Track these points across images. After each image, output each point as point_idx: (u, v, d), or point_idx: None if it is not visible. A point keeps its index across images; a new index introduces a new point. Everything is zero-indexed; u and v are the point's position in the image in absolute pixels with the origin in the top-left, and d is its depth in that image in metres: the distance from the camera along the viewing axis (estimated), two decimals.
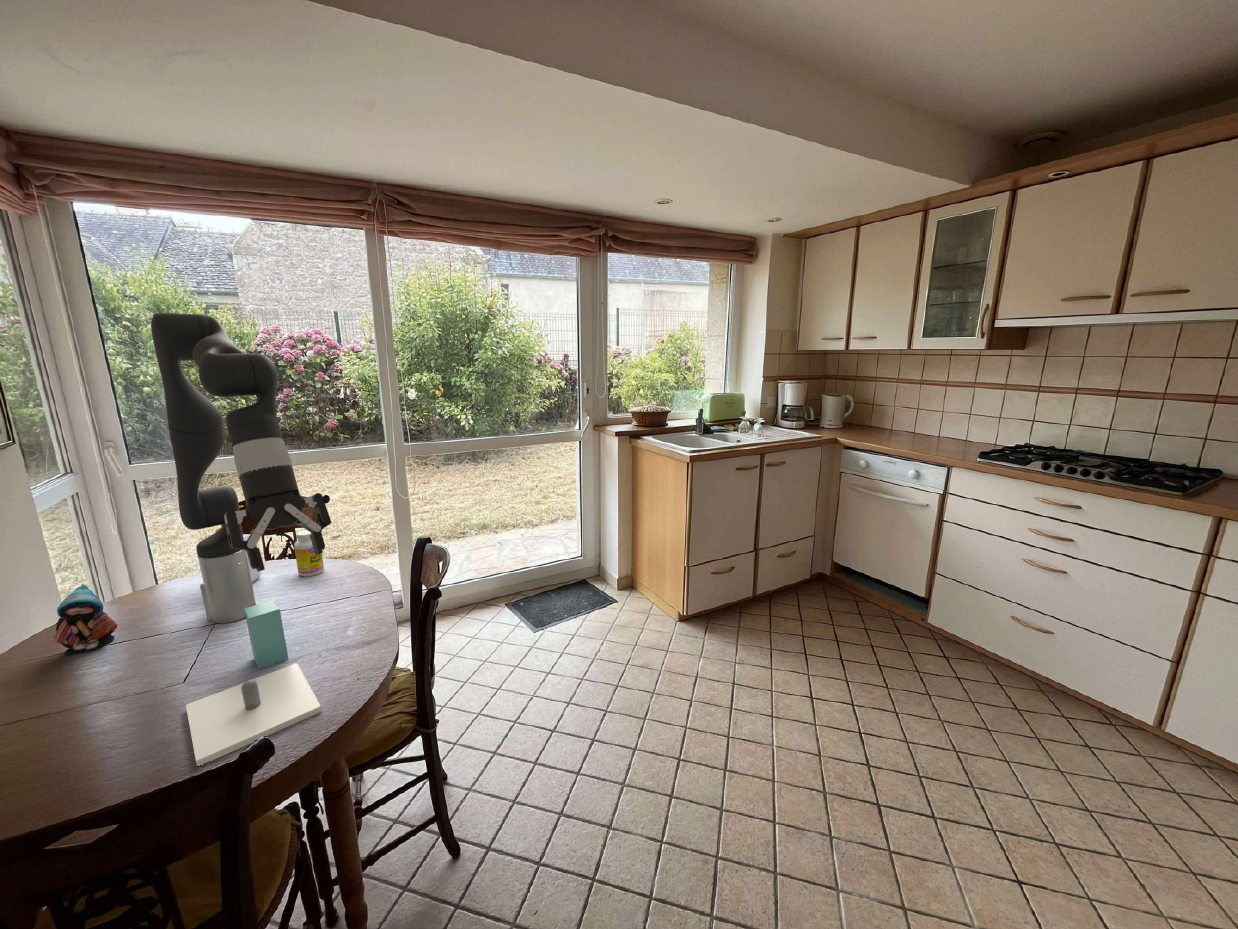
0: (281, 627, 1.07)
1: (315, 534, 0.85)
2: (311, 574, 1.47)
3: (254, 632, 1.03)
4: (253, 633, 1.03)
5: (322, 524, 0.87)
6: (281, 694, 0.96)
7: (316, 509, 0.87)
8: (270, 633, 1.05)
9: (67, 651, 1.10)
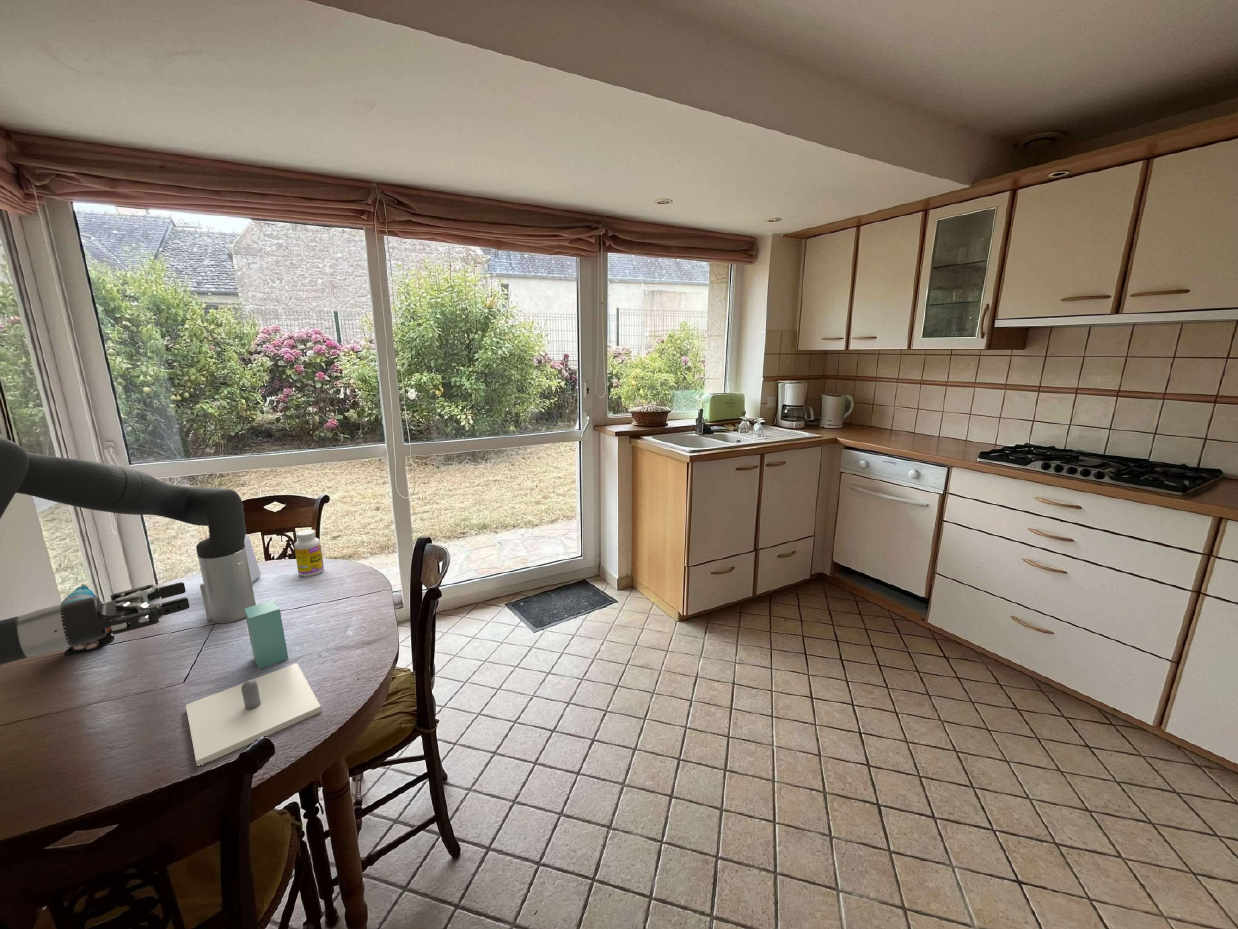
0: (281, 627, 1.07)
1: None
2: (311, 574, 1.47)
3: (254, 632, 1.03)
4: (253, 633, 1.03)
5: None
6: (281, 694, 0.96)
7: None
8: (270, 633, 1.05)
9: (67, 651, 1.10)
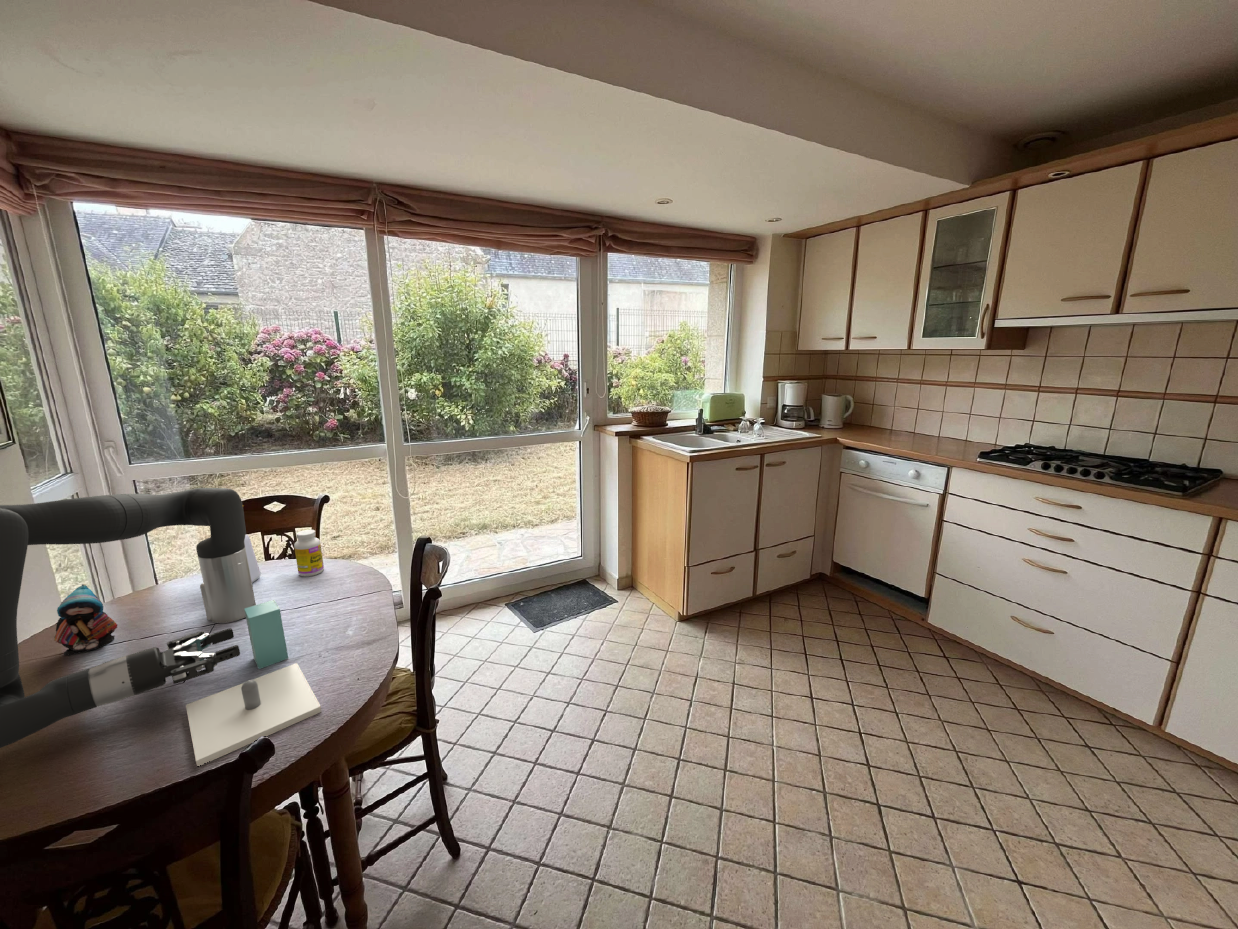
0: (281, 627, 1.07)
1: None
2: (311, 574, 1.47)
3: (254, 632, 1.03)
4: (253, 633, 1.03)
5: None
6: (281, 694, 0.96)
7: None
8: (270, 633, 1.05)
9: (67, 651, 1.10)
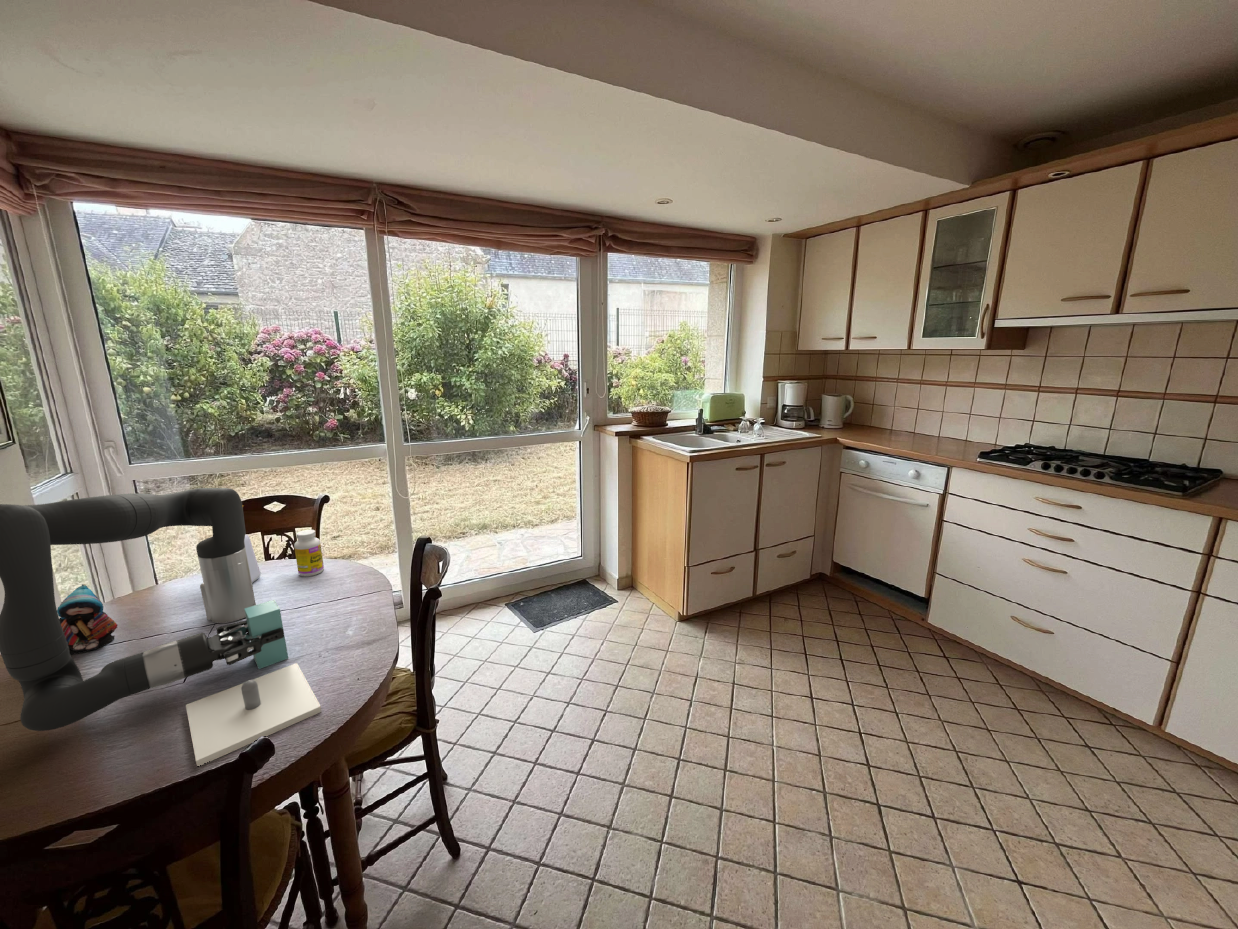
0: (281, 627, 1.07)
1: None
2: (311, 574, 1.47)
3: (254, 632, 1.03)
4: (253, 633, 1.03)
5: None
6: (281, 694, 0.96)
7: None
8: None
9: None
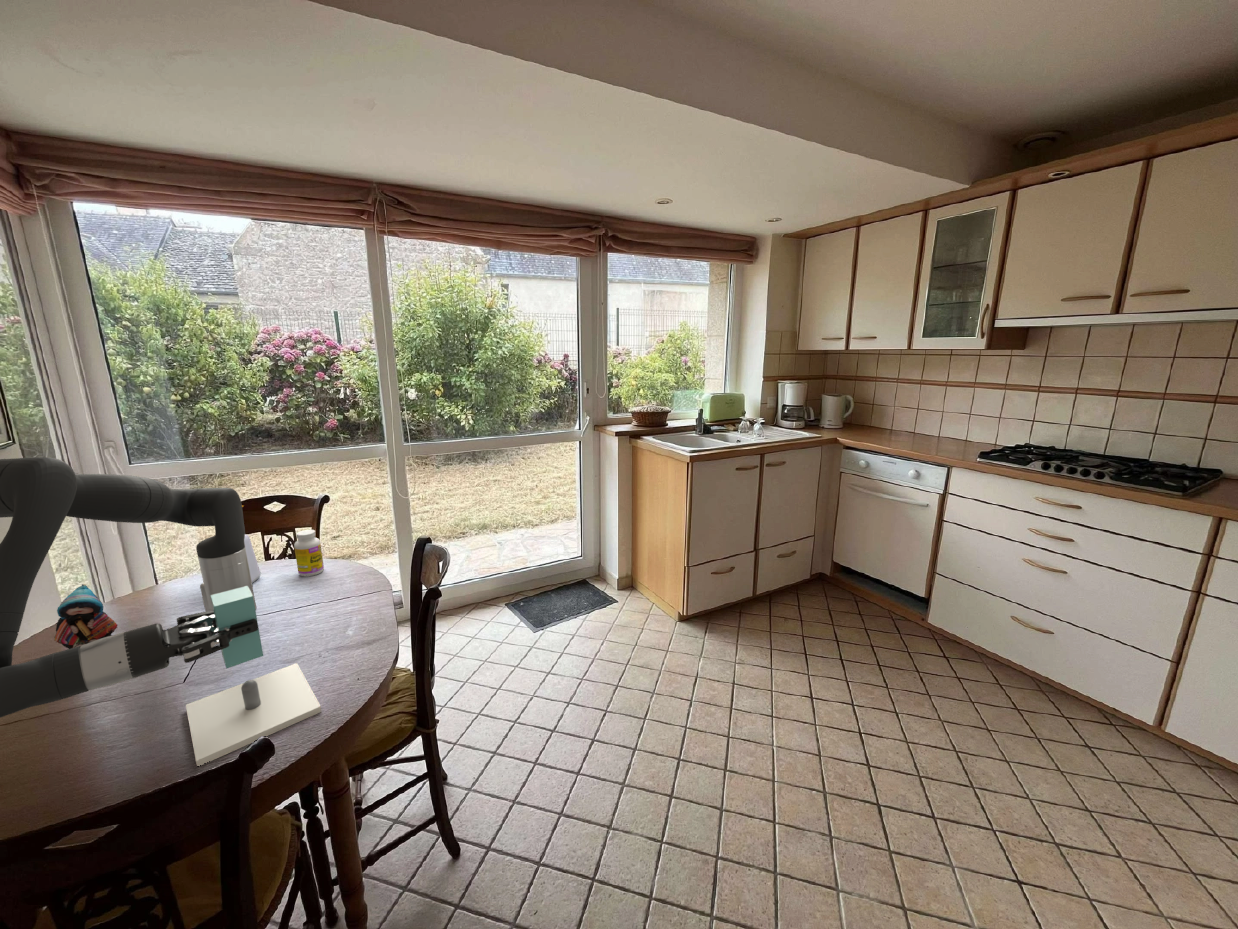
0: (255, 618, 0.89)
1: None
2: (311, 574, 1.47)
3: (221, 623, 0.85)
4: (220, 625, 0.85)
5: None
6: (281, 694, 0.96)
7: None
8: None
9: None
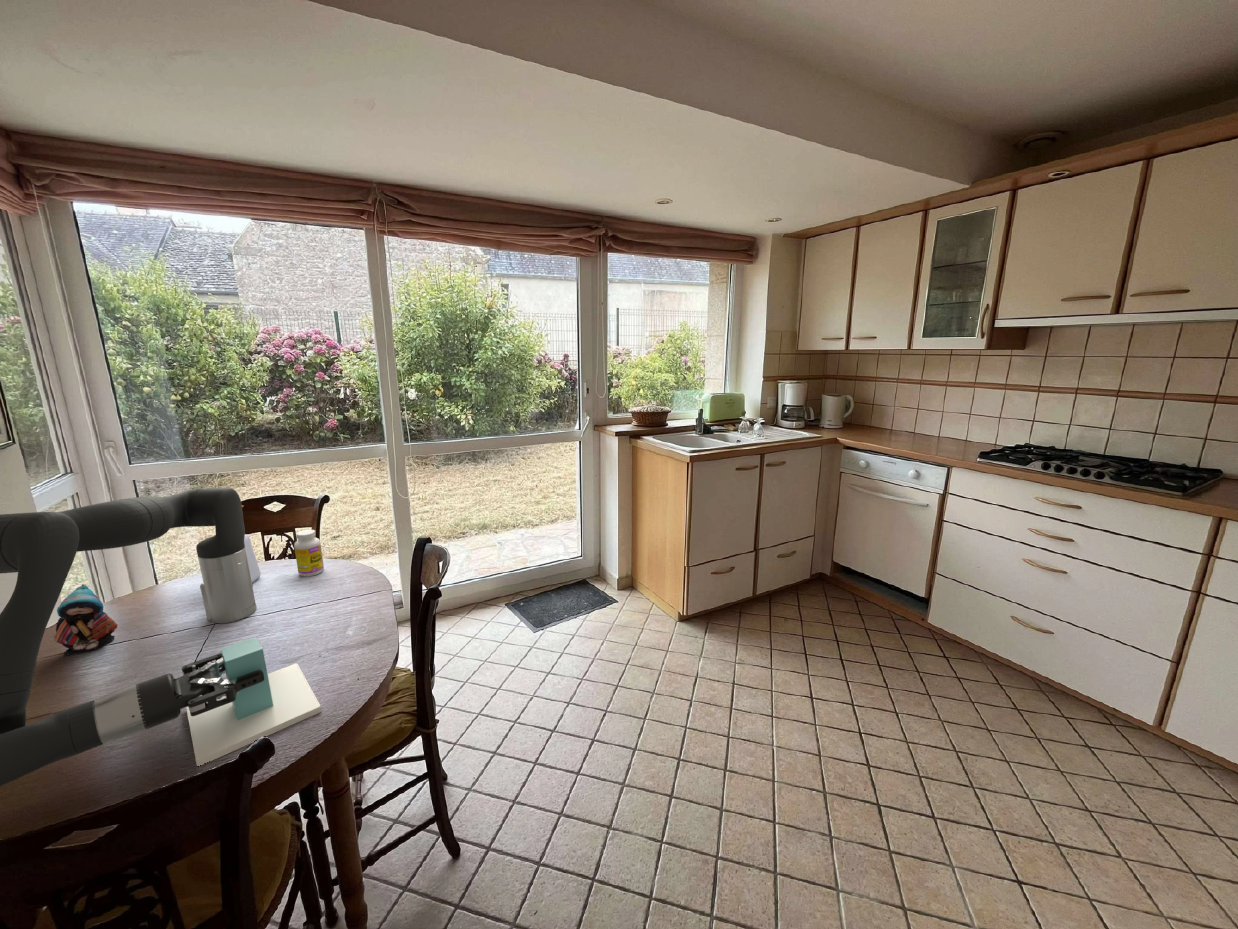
0: (264, 670, 0.91)
1: None
2: (311, 574, 1.47)
3: (232, 678, 0.87)
4: None
5: None
6: (281, 694, 0.96)
7: None
8: None
9: (67, 651, 1.10)
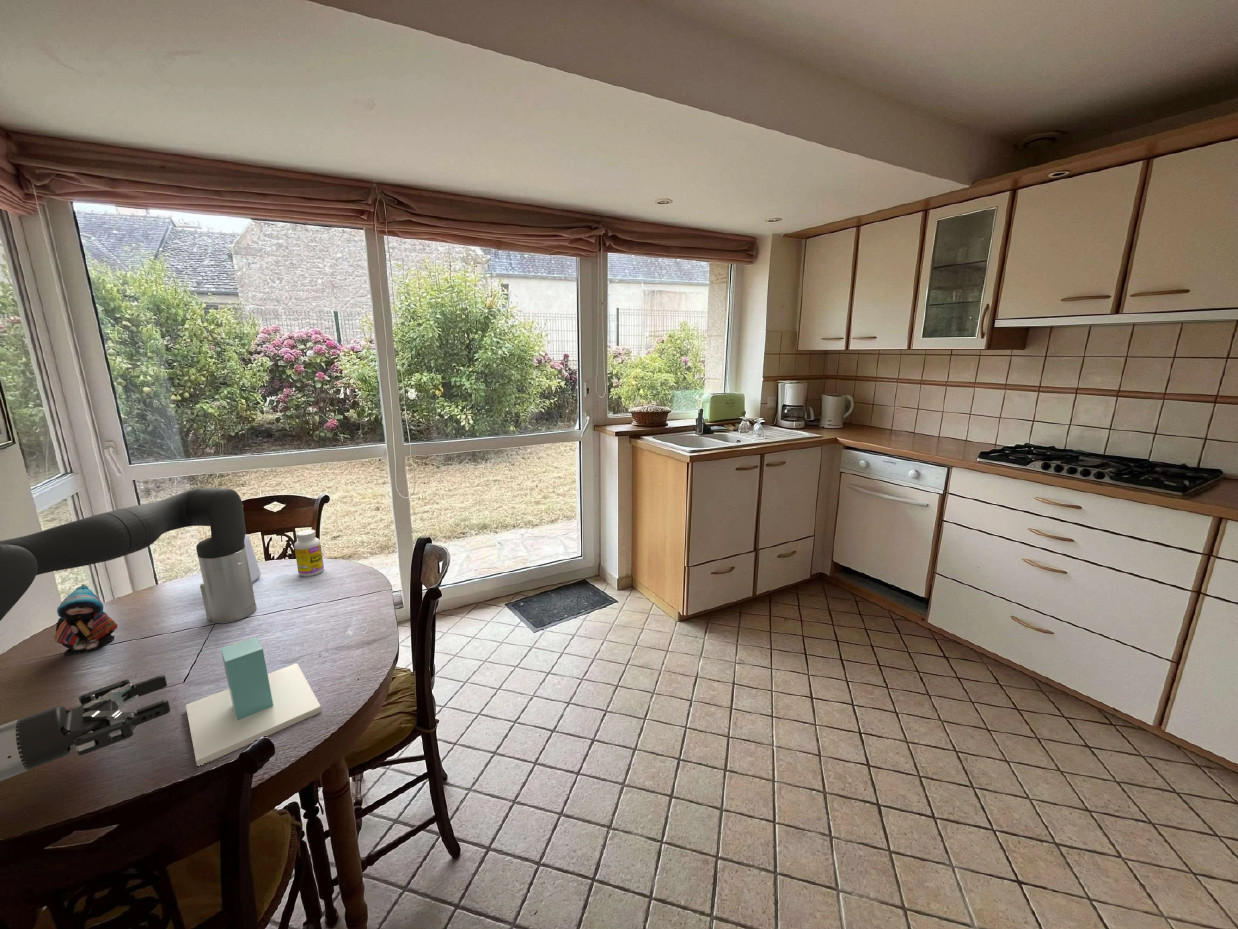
0: (264, 670, 0.91)
1: None
2: (311, 574, 1.47)
3: (232, 678, 0.87)
4: (231, 679, 0.87)
5: None
6: (281, 694, 0.96)
7: None
8: (251, 678, 0.89)
9: (67, 651, 1.10)
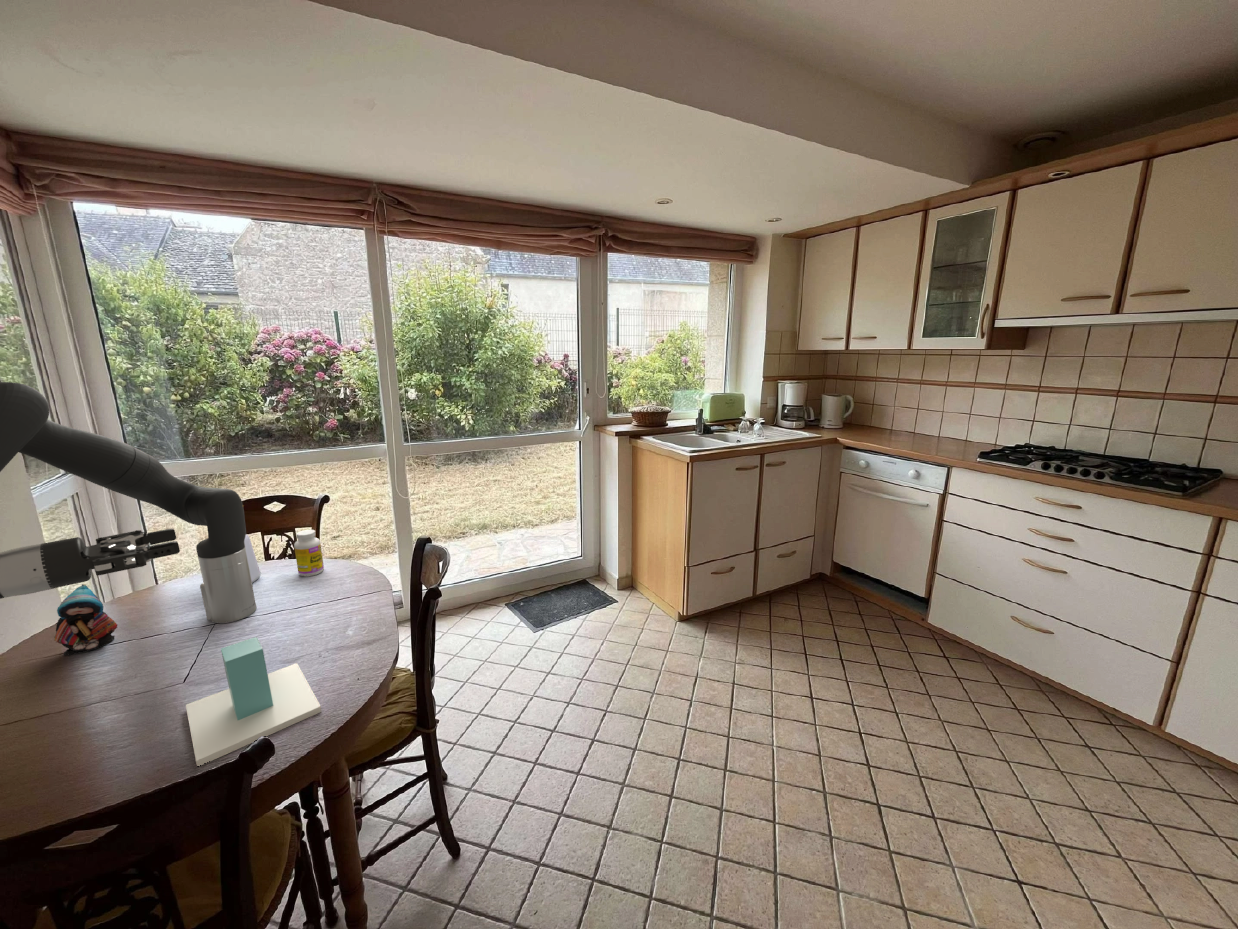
0: (264, 670, 0.91)
1: None
2: (311, 574, 1.47)
3: (232, 678, 0.87)
4: (231, 679, 0.87)
5: None
6: (281, 694, 0.96)
7: None
8: (251, 678, 0.89)
9: (67, 651, 1.10)
